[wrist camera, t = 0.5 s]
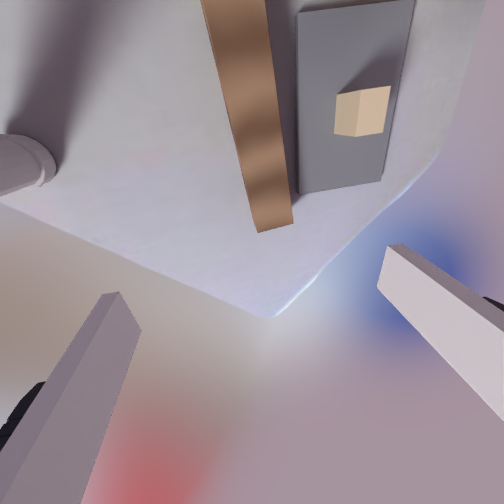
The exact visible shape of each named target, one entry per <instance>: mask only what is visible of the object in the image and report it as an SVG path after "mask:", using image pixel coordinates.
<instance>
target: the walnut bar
mask: <svg viewBox="0 0 504 504" xmlns="http://www.w3.org/2000/svg"><path fill="white" fill-rule="evenodd" d="M200 1H201V5H202V9H203V13H204V17H205V21H206V26H207V30H208V34H209V38H210V42H211V46H212V51H213V55H214V59H215V63H216V67H217V71H218V76H219V80H220V84H221V88H222V92H223V96H224V101H225V105H226V109H227V113H228V117H229V121H230V126H231V130H232V134H233V138H234V142H235V146H236V151H237V155H238V159H239V163H240V167H241V171H242V176H243V180H244V184H245V188H246V192H247V196H248V201H249V205H250V209H251V213H252V217H253V221H254V224H255V227H256V229H257V232H258V233H260V232H263V231H267V230H271V229H275V228H278V227H282V226H286V225H289V224H293V223H294V222H293V214H292V207H291V199H290V191H289V184H288V176H287V168H286V161H285V153H284V145H283V138H282V130H281V122H280V115H279V107H278V99H277V92H276V84H275V76H274V68H273V61H272V53H271V45H270V38H269V30H268V22H267V15H266V7H265V0H200Z"/></svg>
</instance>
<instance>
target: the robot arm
mask: <svg viewBox="0 0 504 504" xmlns="http://www.w3.org/2000/svg"><path fill="white" fill-rule="evenodd" d="M377 288H378V289H379V290H380V291H381V292H382V294H383V295H384V296H385V297H386V298H387V299H388V300H389V301H390V302H391V303H392V304H393V305H394V306H395V307H396V308H397V309H398V310H399V311H400V313H401V314H402V315H403V316H404V317H405V318H406V319H407V320H408V321H409V322H410V323H411V324H412V325H413V326H414V327H415V328H416V329H417V330H418V331H419V332H420V334H421V335H422V336H423V337H424V338H425V339H426V340H427V341H428V342H429V343H430V344H431V345H432V346H433V347H434V348H435V349H436V350H437V351H438V353H439V354H440V355H441V356H442V357H443V358H444V359H445V360H446V361H447V362H448V363H449V364H450V365H451V366H452V367H453V368H454V369H455V371H456V372H457V373H459V375H460V376H461V377H462V378H463V379H464V380H465V381H466V382H467V383H468V384H469V385H470V386H471V387H472V388H473V389H474V390H475V392H476V393H477V394H478V395H479V396H480V397H481V398H482V399H483V400H484V401H485V402H486V403H487V404H488V405H489V406H490V407H491V408H492V410H493V411H494V412H495V413H497V415H498V416H499V417H500V418H501V419H502V420H503V421H504V305H503V304H501V303H499V302H496V301H494V300H492V299H490V298H487V297H481V296H479V295H478V294H476V293H475V292H473V291H472V290H471V289H469V288H468V287H466V286H465V285H463V284H461V283H460V282H459V281H457V280H456V279H454V278H453V277H451V276H449V275H448V274H447V273H445V272H444V271H442V270H441V269H439V268H438V267H436V266H434V265H433V264H432V263H430V262H429V261H427V260H426V259H425V258H423V257H421V256H420V255H419V254H417V253H416V252H414V251H413V250H411V249H410V248H408V247H407V246H405V245H403V244H402V243H401V244H396V245H389V246H387V250H386V254H385V258H384V262H383V265H382V269H381V273H380V277H379V281H378V285H377ZM140 333H141V329H140V327H139V325H138V323H137V322H136V320H135V318H134V316H133V315H132V313H131V311H130V309H129V308H128V306H127V304H126V302H125V301H124V299H123V297H122V295H121V294H120V292H114V293H108V294H103V295H102V296H101V297H100V299H99V300H98V302H97V303H96V305H95V307H94V308H93V310H92V311H91V313H90V314H89V316H88V317H87V319H86V320H85V322H84V324H83V325H82V327H81V328H80V330H79V331H78V333H77V334H76V336H75V337H74V339H73V341H72V342H71V344H70V345H69V347H68V348H67V350H66V352H65V353H64V355H63V356H62V358H61V359H60V361H59V362H58V364H57V365H56V367H55V368H54V370H53V371H52V373H51V375H50V376H49V378H48V379H47V381H45V382H40V383H38V384H36V385H35V386H34V387H33V388H32V389H31V390H30V391H29V392H28V393H27V394H26V395H25V396H24V397H23V398H22V399H21V400H20V402H19V403H18V405H17V406H16V407H15V409H14V410H13V412H12V413H11V415H10V416H9V417H8V419H7V423H6V424H4V425H3V426H2V428H1V429H0V504H80V503H81V500H82V498H83V495H84V492H85V489H86V486H87V484H88V481H89V478H90V475H91V472H92V469H93V466H94V464H95V461H96V458H97V455H98V452H99V449H100V447H101V444H102V441H103V438H104V435H105V433H106V429H107V427H108V424H109V421H110V418H111V416H112V413H113V410H114V407H115V404H116V401H117V398H118V396H119V393H120V390H121V387H122V384H123V381H124V379H125V376H126V373H127V370H128V367H129V364H130V362H131V359H132V356H133V353H134V350H135V347H136V344H137V342H138V339H139V336H140Z"/></svg>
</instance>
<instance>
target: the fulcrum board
mask: <svg viewBox="0 0 504 504" xmlns="http://www.w3.org/2000/svg"><path fill="white" fill-rule="evenodd" d="M414 2H415V0H398V1H390V2H381V3H373V4H365V5H357V6H349V7H341V8H333V9H325V10H317V11H308V12H300V13H297V15H296V16H295V68H296V146H297V193H298V194H299V195H301V194H307V193H313V192H319V191H325V190H331V189H336V188H342V187H348V186H354V185H360V184H366V183H372V182H378V181H381V177H382V171H383V166H384V161H385V155H386V150H387V145H388V140H389V134H390V129H391V124H392V118H393V113H394V108H395V103H396V97H397V92H398V87H399V81H400V76H401V71H402V65H403V60H404V55H405V50H406V44H407V39H408V34H409V28H410V23H411V18H412V13H413V7H414Z"/></svg>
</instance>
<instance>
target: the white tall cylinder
mask: <svg viewBox="0 0 504 504" xmlns="http://www.w3.org/2000/svg"><path fill="white" fill-rule="evenodd" d="M55 172H56V164H55V161H54V158H53V157H52V155H51V154H50V152H49V151H48V150H47V149H46V148H45V147H44V146H43V145H41V144H40V143H39V142H38V141H36V140H33V139H31V138H29V137H27V136H24V135H15V134H12V135H6V134H0V196H3V195H6V194H9V193H11V192H14V191H17V190H20V189H21V190H31V189H34V188H38V187H40V186H42V185H43V184H44V183H47V182H49V181H51V179H52V178H53V177H54V176H55Z"/></svg>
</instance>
